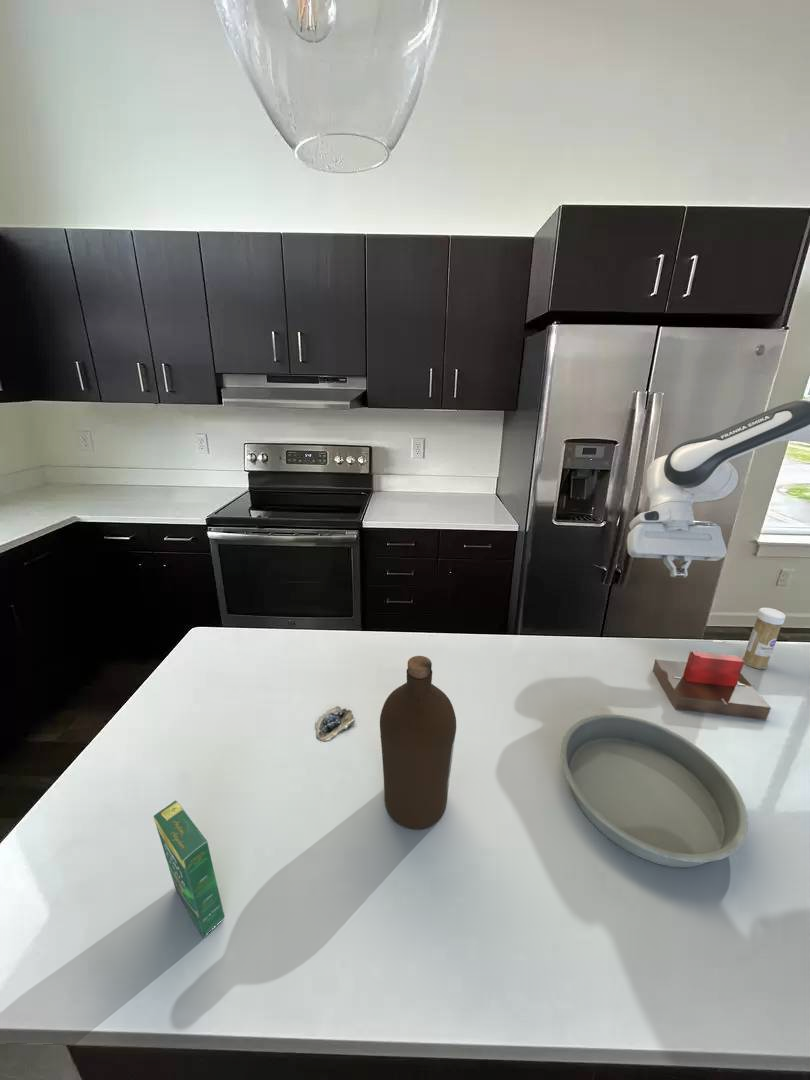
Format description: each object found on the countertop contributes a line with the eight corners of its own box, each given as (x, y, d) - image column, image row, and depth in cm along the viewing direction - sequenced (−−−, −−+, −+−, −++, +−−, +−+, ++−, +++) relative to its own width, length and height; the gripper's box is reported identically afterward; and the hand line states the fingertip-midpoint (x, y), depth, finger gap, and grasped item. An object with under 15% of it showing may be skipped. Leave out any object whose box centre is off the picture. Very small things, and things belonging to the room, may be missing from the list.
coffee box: (172, 888, 53) (150, 813, 48) (195, 869, 55) (177, 796, 50) (202, 941, 48) (181, 863, 43) (226, 918, 50) (209, 842, 45)
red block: (730, 681, 86) (739, 655, 84) (735, 687, 85) (744, 660, 83) (682, 675, 88) (690, 650, 86) (686, 681, 86) (694, 655, 84)
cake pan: (525, 785, 67) (529, 763, 65) (601, 712, 82) (606, 693, 80) (704, 931, 49) (715, 906, 48) (759, 805, 64) (769, 783, 63)
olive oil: (388, 843, 58) (388, 696, 50) (374, 777, 68) (372, 644, 59) (461, 824, 61) (473, 682, 52) (437, 764, 71) (444, 635, 62)
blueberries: (361, 716, 80) (360, 708, 80) (337, 747, 73) (337, 739, 73) (331, 705, 83) (330, 698, 82) (305, 734, 76) (304, 726, 75)
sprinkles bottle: (761, 672, 94) (781, 619, 89) (738, 661, 98) (755, 609, 93) (770, 665, 96) (790, 613, 91) (747, 655, 100) (764, 604, 95)
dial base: (730, 677, 92) (734, 665, 91) (768, 722, 80) (773, 709, 79) (651, 668, 95) (654, 657, 94) (676, 711, 82) (680, 698, 81)
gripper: (711, 526, 103) (720, 582, 98) (622, 523, 106) (627, 577, 101) (727, 516, 97) (737, 575, 92) (632, 513, 100) (637, 570, 95)
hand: (679, 576), depth 97 cm, fingers closed
